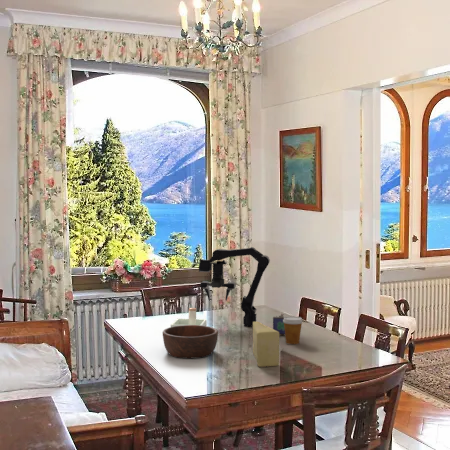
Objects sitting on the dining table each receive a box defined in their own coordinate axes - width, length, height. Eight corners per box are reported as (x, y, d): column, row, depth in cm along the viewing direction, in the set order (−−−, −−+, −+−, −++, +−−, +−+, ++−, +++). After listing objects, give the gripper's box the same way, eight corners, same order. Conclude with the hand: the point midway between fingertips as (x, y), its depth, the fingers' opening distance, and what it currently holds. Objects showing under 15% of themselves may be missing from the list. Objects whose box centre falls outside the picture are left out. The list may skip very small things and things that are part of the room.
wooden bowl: (175, 363, 267) (175, 339, 267) (154, 350, 289) (154, 328, 289) (227, 356, 279) (227, 333, 278) (203, 344, 301) (203, 322, 300)
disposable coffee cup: (305, 341, 306) (305, 317, 305) (298, 346, 297) (299, 320, 296) (286, 339, 310) (286, 315, 309) (279, 343, 301) (280, 319, 300)
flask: (290, 333, 322) (291, 313, 322) (291, 335, 319) (291, 314, 319) (272, 333, 323) (272, 312, 322) (273, 334, 320) (273, 314, 319)
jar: (197, 327, 332) (197, 308, 332) (192, 328, 329) (192, 309, 329) (192, 326, 335) (192, 307, 334) (186, 327, 332) (187, 308, 331)
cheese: (244, 353, 283) (244, 320, 282) (264, 352, 285) (265, 320, 284) (257, 367, 261) (257, 331, 261) (279, 366, 264) (280, 330, 263)
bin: (206, 326, 338) (206, 319, 338) (201, 333, 322) (201, 325, 322) (177, 325, 340) (177, 318, 340) (170, 332, 324) (170, 324, 324)
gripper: (198, 273, 336) (198, 302, 337) (233, 274, 333) (232, 304, 334) (202, 271, 347) (201, 299, 348) (235, 272, 344) (235, 300, 345)
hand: (217, 300), depth 343 cm, fingers open, 9 cm apart
